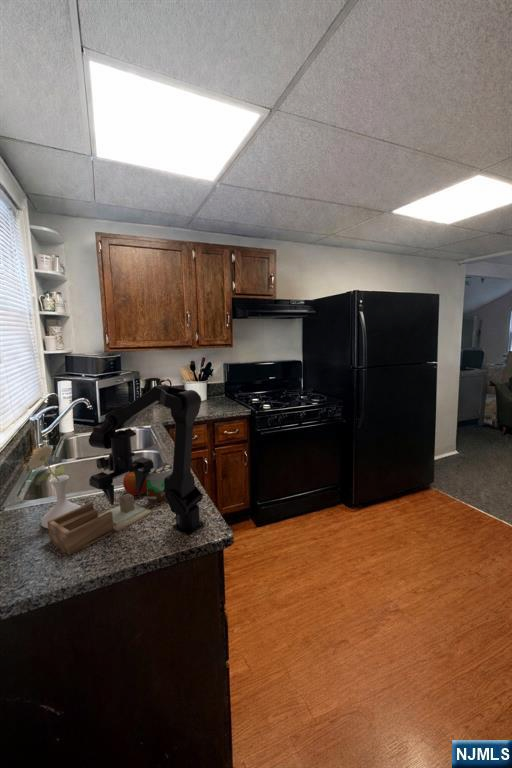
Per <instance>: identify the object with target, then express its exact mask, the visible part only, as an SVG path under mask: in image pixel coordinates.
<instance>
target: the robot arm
mask: <svg viewBox="0 0 512 768" xmlns="http://www.w3.org/2000/svg"><path fill="white" fill-rule="evenodd" d="M159 403H160V404H161V405H162V406H163V407H166V408H168V409H170V416H171V417H172V420H173V421H174V423H175V424H174V425H175V426H174V427H175V428H174V429H175V430H174V441H173V442H174V443H173V444H174V445H173V446H174V447H173V461H172V466H173V472H172V474H170V475H169V476H167V477H166V478H165V480H164V484H165V487H164V490H163V492H165V497H166V499H165V500H167V504H168V506H169V508H170V511H171V513H174V514H175V522H176V524H174V525H172V529H174V530H175V531H177V532H180V533H182V534H184V535H187V536H188V535H190V534H192V533H194V531H196V530H198V529H199V528H201V527H202V526H204V521H202V520H200V506H198V504H199V503H200V502H201V501H202V500H203V496H204V494H203V493H202V491H200V489H199V488H198V487H197V486H196V484H195V476H194V475H193V473H192V471H191V465H192V451H193V449H192V448H193V436H194V434H193V433H194V423H195V422H196V419H197V417H198V415H199V413H200V409H201V404H202V397H201V395H200V394H199V393H198V392H197V391H196V390H193V389H189V390H187V389H184V388H181V387H180V388H179V387H174V386H170V385H168V384H164V383H163V384H160V385H154V386H153V387H152V388H151V389H150V390H148V391H147V392H145V393H143V394H142V395H141V396H139V397H138V398H136V399H135V400H133V401H132V402H130V403H128V404H127V405H125V406H122V407H119V408H117V409H114V410H112V411H108V412H107V413H106V414H105V415H104V419H103V422H102V424H101V425H97V426H93V431H92V432H91V433H90V434H89V437H88V444H89V446H91V448H95V449H97V448H98V449H105V450H109V449H111V453H109V454H108V458H105V457H104V456H103V457H100V458H97V459H96V460H95V462H96V467H97V469H98V470H100V469H103V471H106V470H108V471H109V472H110V473H105V472H103V471H101V472H99V473H96V474H93V475H91V476H90V477H89V479H88V482H89V486H90V487H93V488H95V489H97V490H102V492H103V493H104V495H105V498H106V499H107V501H108V502H109V505H111V506H113V505H114V503H115V485H113V483H114V480H115V479H117V478H120V477H123V476H125V475H126V474H128V473H130V472H134V474H135V478H136V490H137V492H138V493H140V491H141V488H142V486H143V484H144V481H145V479H146V477H147V475H148V473H152V472H151V471H152V470H153V469H154V468H155V464H154V461H153V460H152V459H150V458H146V457H140V458H137V459H135V460H134V459H133V457H135V452H134V451H132V437H135V436H136V435H137V433H136V432H135V430H132V428H129V427H130V426H131V425H132V424H133V423H134V422H135V421H136V420H137V419H138V417H139V416H140V415H141V414H143V413H144V412H146V411H147V410H150V409H151V408H152V407H154V406H155V405H157V404H159ZM127 427H128V428H127ZM124 428H126V429H124ZM121 429H122V430H121Z"/></svg>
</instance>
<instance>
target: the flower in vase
mask: <svg viewBox="0 0 512 768" xmlns="http://www.w3.org/2000/svg"><path fill="white" fill-rule="evenodd" d="M52 454H53V447H52V445H48V444H44V445H43V446H42V447H41V446H39V447H38V448H37V450H35V452H34V454H31V455H30V460H29V461H28V462H27V466H29V467H28V469H31V470H33V469H38V468H40V467H41V466H43V465H44V464H45V465H47V467H48V470H49V472H45V473H43V474H42V475H40V476H39V478H38V479H37V481H36V482H37V483H38V482H42V481H46V480H48V478H49V477H50V476H51V475H53V477H51V479H49V483H50V484H51V485H52V486H53V487H54V489H55V492H56V503H55V504H54V506H53V507H51V509H49V510H48V511H47V512H46V513H45V515H43V517H42V519H41V522H40V524H41V526H42V527H43V528H45V529H48V521H50V520H52V519H55V518H57V517H59V516H62V515H64V514H66V513H69V512H71V511H73V510H75V509H78V508H80V507H82V506H81V505H79V504H78V503H74V502H71V501H69V500H68V499H67V495H66V485H67V481H68V480H69V478H70V476H69V475H67V474H66V475H65V474H64V475H63V473H64V472H65V470H66V465H65V463H62V464H61V465H60V466H58V467H57V468H56V469H54V472H53V471H52V469H51V467H50V465H49V463H48V460H49V458H50V457H51V455H52ZM61 474H62V475H61Z"/></svg>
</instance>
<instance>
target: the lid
mask: <svg viewBox="0 0 512 768" xmlns="http://www.w3.org/2000/svg"><path fill="white" fill-rule="evenodd" d="M134 497H135V495H132V494H129V493H128V492H127V493H125V494H124V495H121V496H119V497H118V498H119V505H120V507H118V508H116V509H114V510H112V511H109V512H112V517H113V525H115V526H117V525H119V524H121V523H123V522H125V521H127V520H129V519H131V518H133V517H135V516H136V515H138V514H140V513H142V512H144V511H145V509H146V508H145V507H143V506H140V505H138V504H135V499H134ZM107 513H108V512H107ZM105 514H106V513H105ZM103 515H104V514H103ZM101 516H102V515H101Z"/></svg>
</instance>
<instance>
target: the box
mask: <svg viewBox="0 0 512 768" xmlns="http://www.w3.org/2000/svg"><path fill="white" fill-rule="evenodd" d="M98 515H99V514H98V510H97V509H96V508H94V502H93V503H92V502H90V503H87V504H85V505H83V506H81V507H80V508H78V509H75V510H73V511H71V512H69V513H66V514H64V515H62V516H59V517H57V518H55V519H52V520H50V521H48V528H47V529H48V536H49V542H50V543H51V544H53V545H54V546H56V547H57V548H59V549H60V550H62V552H63V553H66V554H67V555H69V556H72V555H73V554H75V553H77V552H80V551H81V550H83V549H84V548H86V547H89V546H90V545H92V544H94V543H96V542H97V541H100V540H101V539H103V538H105V537H107V536H108V535H110V534H112V533H114V532H115V530H114V528H113V517H112V512H108V513H106V514H104V515H102V516H100V517H98Z"/></svg>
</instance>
